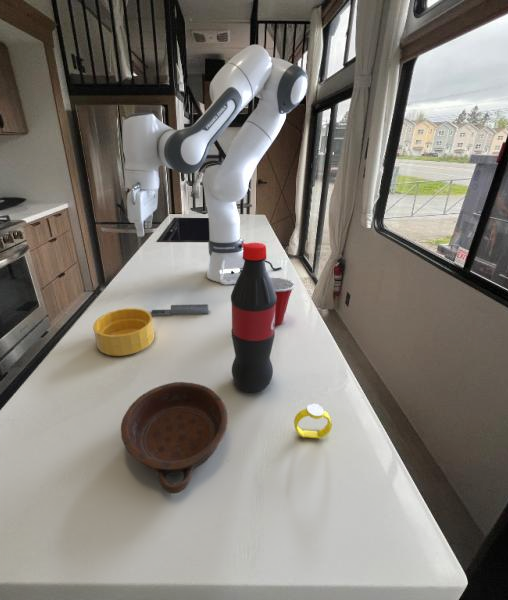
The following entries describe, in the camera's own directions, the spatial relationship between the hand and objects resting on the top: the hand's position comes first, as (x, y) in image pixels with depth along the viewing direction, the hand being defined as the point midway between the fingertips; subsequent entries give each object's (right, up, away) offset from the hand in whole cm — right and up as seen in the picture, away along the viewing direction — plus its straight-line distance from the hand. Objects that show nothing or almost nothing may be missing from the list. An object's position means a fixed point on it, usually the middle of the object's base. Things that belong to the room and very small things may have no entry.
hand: (144, 231), depth 93 cm
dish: (+15, -44, -37) cm, 59 cm away
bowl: (-2, -30, -9) cm, 32 cm away
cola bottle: (+29, -37, -25) cm, 53 cm away
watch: (+38, -43, -37) cm, 69 cm away
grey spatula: (+10, -24, +4) cm, 26 cm away
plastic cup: (+37, -26, -1) cm, 45 cm away
